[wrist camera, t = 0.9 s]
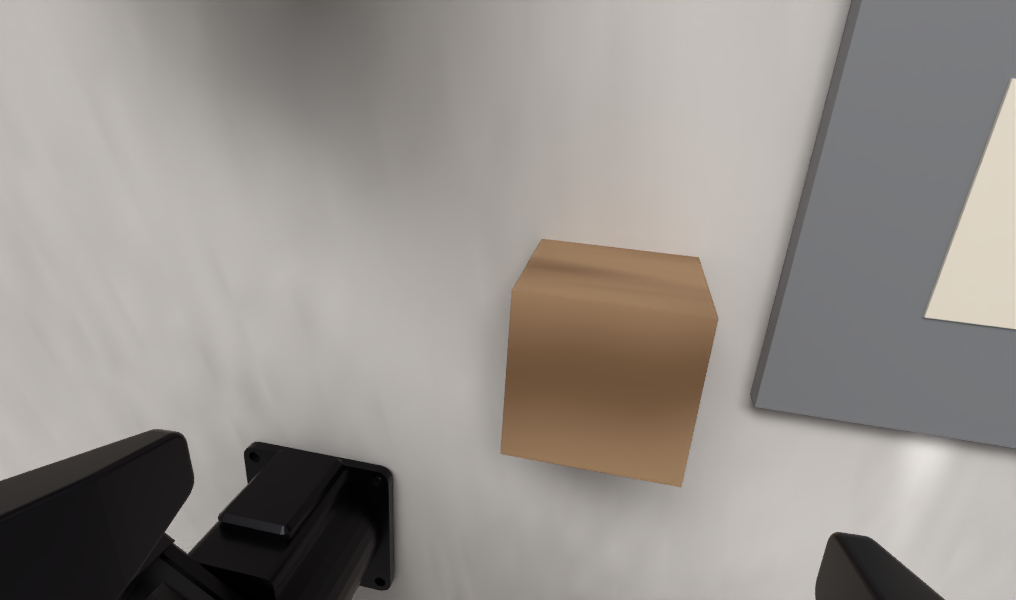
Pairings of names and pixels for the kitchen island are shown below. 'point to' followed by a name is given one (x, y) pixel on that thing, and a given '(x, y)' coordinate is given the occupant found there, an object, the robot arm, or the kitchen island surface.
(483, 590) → the kitchen island surface
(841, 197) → the baseplate
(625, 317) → the walnut block
